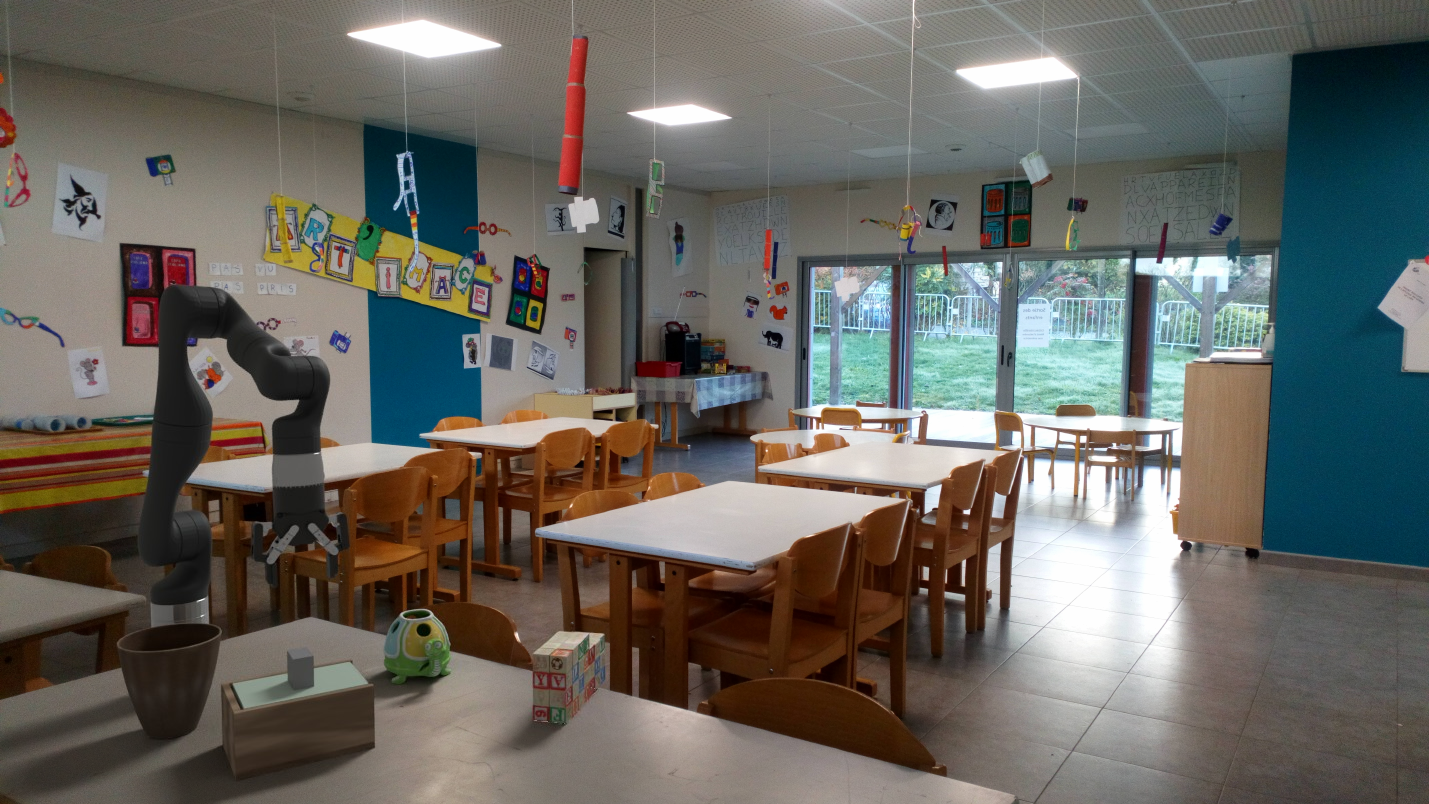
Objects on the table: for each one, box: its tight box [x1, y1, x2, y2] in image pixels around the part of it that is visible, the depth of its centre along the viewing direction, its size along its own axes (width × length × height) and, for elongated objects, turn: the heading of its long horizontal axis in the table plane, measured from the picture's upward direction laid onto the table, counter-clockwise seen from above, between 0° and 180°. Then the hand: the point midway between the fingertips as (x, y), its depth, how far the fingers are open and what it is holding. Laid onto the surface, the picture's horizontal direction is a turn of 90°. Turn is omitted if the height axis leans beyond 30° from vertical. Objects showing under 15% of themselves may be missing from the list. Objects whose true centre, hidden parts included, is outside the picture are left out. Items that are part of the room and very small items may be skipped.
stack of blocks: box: [532, 630, 606, 725], centre depth 167 cm, size 21×6×12 cm, turn 168°
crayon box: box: [220, 658, 376, 781], centre depth 147 cm, size 15×20×10 cm
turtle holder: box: [383, 608, 452, 685], centre depth 177 cm, size 12×18×12 cm
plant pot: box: [116, 623, 222, 740], centre depth 152 cm, size 15×15×16 cm
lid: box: [233, 646, 370, 710], centre depth 147 cm, size 12×18×6 cm, turn 125°
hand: (302, 581), depth 146 cm, fingers open, 8 cm apart
